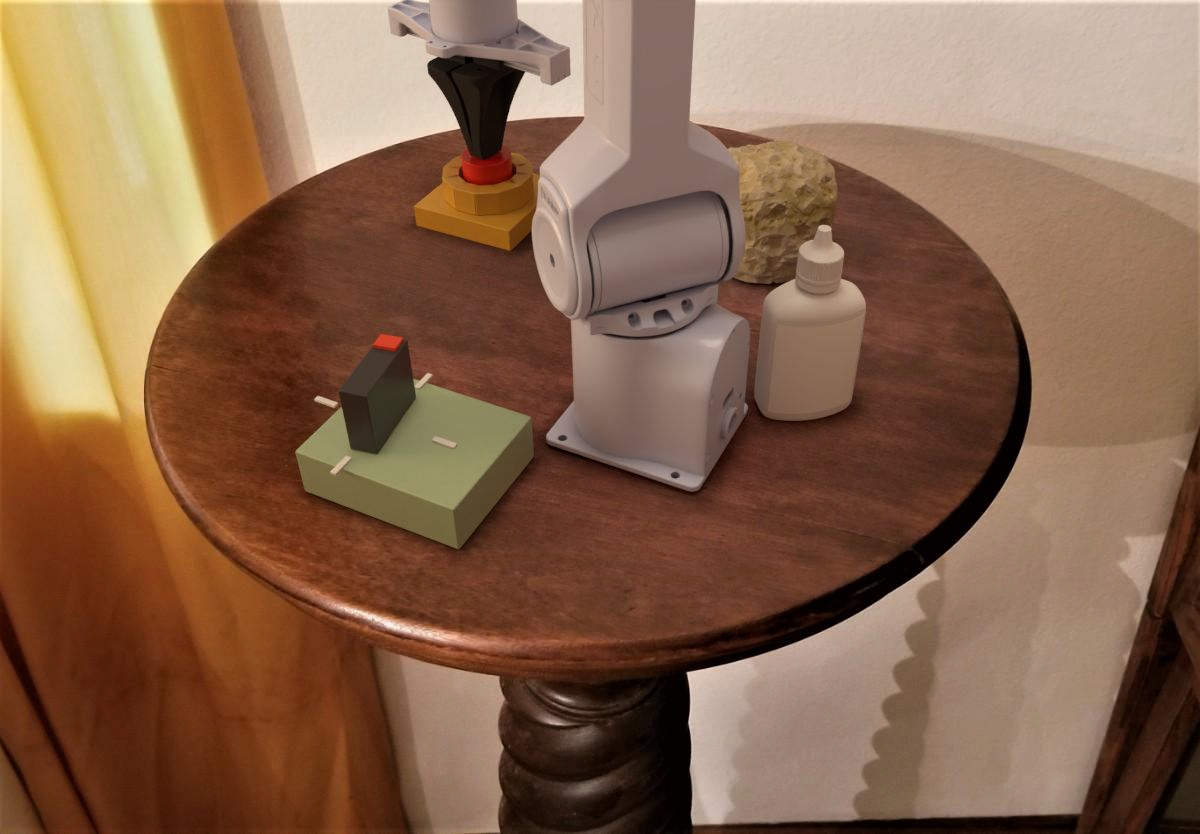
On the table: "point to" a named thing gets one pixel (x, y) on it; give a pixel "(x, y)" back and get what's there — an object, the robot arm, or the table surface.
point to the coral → (781, 206)
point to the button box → (482, 206)
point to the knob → (378, 393)
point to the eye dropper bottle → (810, 337)
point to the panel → (423, 464)
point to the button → (487, 168)
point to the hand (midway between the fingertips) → (486, 152)
